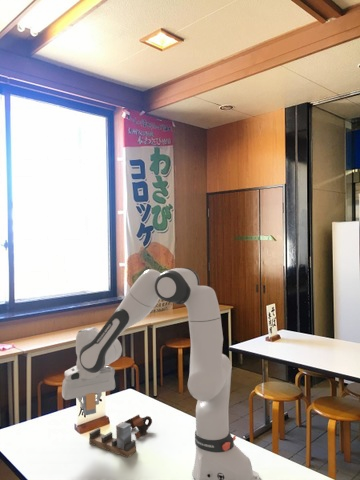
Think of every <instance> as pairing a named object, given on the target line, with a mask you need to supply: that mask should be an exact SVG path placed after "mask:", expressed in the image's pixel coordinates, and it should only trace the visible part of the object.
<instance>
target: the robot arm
mask: <svg viewBox="0 0 360 480" xmlns="http://www.w3.org/2000/svg"><path fill="white" fill-rule="evenodd" d="M200 283H201V282H200V277H199V274H198V273H197V272H196V271H195V270H194V269H192V268H189V267H180V268H179V267H175V268H172V269H168V270H165V271H163V272H162V273H161V272H160V271H159V270H156V269H152V268H151V269H150V268H149V269H146V270H145V271H144V272H143V273H142V274H141V275H139V276H138V278H137V279H136V280H135V281H134V282H133V284H132V286H130V288H129V289H128V291H127V293H126V295H125V296H124V298H123V299H122V301H121V302H120V304H119V305H118V306H117V308H116V309H115V311H114V312H113V314H111V316H110V317H109V319H108V320H107V321H106V322H105V324H104V325H103V326H102V328H101V329H100V330H99V329H98V327H95V326H93V327H87V328H83V329H80V330H79V331H78V332H77V334H76V338H75V354H76V357H77V358H76V365H74V366H72V367H70V368H69V369H67V370H65V371H64V374H63V375H64V378H63V379H62V385H61V396H62V398H63V399H64V400H65V401H68V400H72V399H73V400H74V399H77V400H78V402H79V404H80V409H83V408H84V407H85V402H83V396H86V395H87V394H91V393H95V395H96V406H97V405H100V400H101V397H102V395H103V394H102V393H105V392H111V391H113V390H115V388H116V381H115V373H116V371H115V367H113V366H110V365H111V364H112V363H114V362H115V361H117V360H119V359H120V358H121V356H122V354H123V346H122V343H121V342H120V340H119V339H118V338H119V337H120V335H121V334H122V333H123V332H125V331H126V330H127V329H129V328H131V327H132V326H134V325H136V324H137V323H140V322H141V321H143V320H144V319H146V318H147V317H148V316H149V315H150V314H151V312H152V311H153V310H154V308H155V307H156V306H157V304H158V302H159V300H162V301H165V302H166V303H172V304H175V305H180V306H182V305H183V304H184V305H185V307H186V310H187V319H188V328H189V337H190V357H189V375H188V381H187V389H188V391H189V394H190V395H191V396H192V397H193V398H194V399H195V400H197V401H196V406H195V432H194V443H195V459H194V465H193V469H192V477H193V478H194V480H261V479H260V478H261V477H260V474H259V472H257V471H255V470H253V465H252V462H251V459H250V458H249V456H247V455H246V454H245V453H244V452H243V451H242V450H241V449H240V448H239V447H238V446H237V445H236V444H235V442H234V441H236V439H237V438H236V437H237V435H236V434H234V436H233V437H232V434H231V432H230V430H229V429H230V428H229V426H230V425H229V424H230V423H229V405H230V403H229V402H230V395H231V380H232V379H231V378H232V369H233V368H232V362H231V360H230V359H229V357H228V356H227V355H226V354H224V353H223V346H224V345H223V344H224V335H223V327H222V316H221V310H220V305H219V302H218V297H217V294H216V291H215V290H214V288H213V287H211V286H208V285H200Z"/></svg>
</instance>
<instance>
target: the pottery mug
mask: <svg viewBox="0 0 360 480" xmlns="http://www.w3.org/2000/svg"><path fill="white" fill-rule="evenodd" d="M147 420H148V421H147ZM124 422H125V423H129V424H131V430H133V429H137V430H138V431H137V432H135V433H134V437H135V439H137V440H138V439H141V438H142V437H144V436H146V435H147V431H148V429H149V428H150V427H151V425H152V423H153V419H152V418H151V416H148V415H146V416H144V417H141V416H140V414H136V415H135V416H133V417H131V418H129V419H127V420H125V421H124ZM146 422H147V423H146Z"/></svg>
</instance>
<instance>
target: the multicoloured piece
mask: <svg viewBox="0 0 360 480" xmlns="http://www.w3.org/2000/svg"><path fill="white" fill-rule="evenodd" d="M96 398H97V395H96V394H95V393H91V394H87V395H86V396H83V397H82V402H85V407H84V408H82V409H83V414H84V415H85V416H90V415H94V414H96V413H97V405H96Z"/></svg>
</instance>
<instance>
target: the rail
mask: <svg viewBox="0 0 360 480" xmlns="http://www.w3.org/2000/svg"><path fill="white" fill-rule="evenodd" d="M115 429H116V430H115V431H116V434H115V435H116V437H113V432H112V431H109V432H108V433H106V434H103V433H101V428H100V427H98V428H96V429H94V430H92V431H90V432H89V438H88V440H89V441H88V442H89V444H91V445H93V446H96V447H99V448H102V449H104V450H107V451H110V452H111V453H115V454H117V455H121V456H122V457H126V458H129V457H130V456H132V455H134V453H136V452H137V443H136V440H135V439H133V440H132V428H131V424H129V423H125V421H121V422H119V423H118V424H117V425H116V426H115Z"/></svg>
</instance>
